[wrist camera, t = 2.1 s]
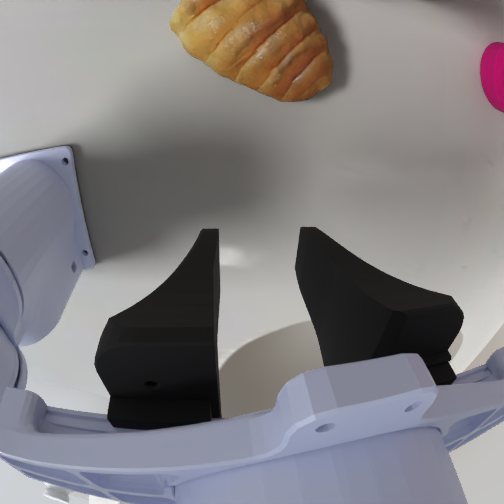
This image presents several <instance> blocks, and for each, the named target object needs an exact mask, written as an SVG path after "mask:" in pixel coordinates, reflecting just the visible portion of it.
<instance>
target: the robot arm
mask: <svg viewBox="0 0 504 504" xmlns="http://www.w3.org/2000/svg"><path fill="white" fill-rule="evenodd" d="M64 158H67V159H68V161H69V162H68V163H65V161H64ZM84 250H86V251H87V252H88V253H86V252H84ZM94 266H95V259H94V255H93V251H92V247H91V243H90V239H89V235H88V231H87V227H86V222H85V218H84V213H83V209H82V204H81V199H80V194H79V188H78V183H77V177H76V171H75V165H74V158H73V152H72V149H71V148H70V147H69V146H59V147H54V148H48V149H42V150H37V151H32V152H27V153H22V154H18V155H13V156H9V157H4V158H0V458H1V459H2V460H4V461H5V462H6V463H8V464H9V465H11V466H12V467H14V468H15V469H17V470H18V471H20V472H21V473H23V474H24V475H26V476H28V477H30V478H33V479H36V480H39V481H42V482H45V483H49V484H52V485H55V486H59V487H62V488H66V489H69V490H73V491H77V492H80V493H84V494H88V495H92V496H96V497H101V498H105V499H110V500H114V501H119V502H125V503H130V504H468V503H467V500H466V498H465V495H464V492H463V489H462V486H461V484H460V481H459V478H458V476H457V473H456V470H455V468H454V465H453V463H452V460H451V458H450V455H449V452H451V451H453V450H455V449H457V448H459V447H460V446H462V445H464V444H466V443H467V442H469V441H471V440H473V439H474V438H476V437H478V436H479V435H481V434H483V433H485V432H486V431H488V430H489V429H491V428H493V427H495V426H496V425H498V424H499V423H501V422H503V421H504V347H502V348H500V349H498V350H496V351H495V352H494V353H493V354H492V355H491V356H490V358H489V359H488V360H487V362H486V364H484V365H481V366H479V367H476V368H474V369H471V370H468V371H465V372H463V373H460V374H457V375H455V373H454V371H453V369H452V368H451V366H450V364H449V362H448V361H450V360H451V355H450V353H449V352H448V349H449V347H450V346H451V344H452V342H453V341H454V339H455V338H456V336H457V334H458V333H459V331H460V329H461V327H462V323H463V319H464V315H463V311H462V310H461V309H460V307H459V306H458V305H457V303H456V302H455V300H454V299H453V298H452V296H449V295H445V294H441V293H437V292H433V291H429V290H426V289H423V288H420V287H417V286H414V285H412V284H409V283H407V282H404V281H402V280H399V279H397V278H395V277H393V276H390V275H388V274H386V273H384V272H382V271H381V270H379V269H377V268H375V267H373V266H371V265H370V264H368V263H366V262H365V261H363V260H362V259H360V258H358V257H357V256H355V255H354V254H352V253H351V252H350V251H348V250H347V249H345V248H344V247H342V246H341V245H340V244H338V243H337V242H336V241H334V240H333V239H332V238H330V237H329V236H328V235H326V234H325V233H323V232H322V231H321V230H319V229H317V228H316V227H301V228H300V235H299V243H298V250H297V257H296V264H295V271H296V276H297V280H298V284H299V288H300V291H301V294H302V296H303V299H304V302H305V304H306V307H307V310H308V312H309V315H310V317H311V320H312V323H313V325H314V328H315V331H316V334H317V337H318V341H319V345H320V350H321V354H322V358H323V363H324V367H320V368H317V369H313V370H309V371H305V372H303V373H301V374H299V375H298V376H296V377H294V378H293V379H291V380H289V381H288V382H287V383H286V384H285V385H284V387H283V388H282V389H281V391H280V392H279V394H278V396H277V400H276V405H275V407H274V408H271V409H267V410H262V411H259V412H254V413H250V414H245V415H241V416H236V417H231V418H222V416H221V402H220V387H219V369H218V349H217V333H218V318H219V303H220V264H219V229H203V230H201V231H200V234H199V236H198V238H197V240H196V242H195V243H194V245H193V247H192V248H191V250H190V251H189V253H188V254H187V256H186V257H185V259H184V260H183V261H182V262H181V264H180V265H179V266H178V268H177V269H176V270H175V271H174V272H173V273H172V274H171V276H170V277H169V278H168V279H167V280H166V281H165V282H164V283H163V284H161V285H160V286H159V287H158V288H157V289H156V290H154V291H153V292H152V293H151V294H149V295H148V296H147V297H145V298H144V299H142V300H141V301H139V302H138V303H136V304H135V305H133V306H131V307H130V308H128V309H126V310H124V311H122V312H120V313H118V314H117V315H115V316H113V317H111V318H109V319H108V322H107V324H106V326H105V328H104V330H103V333H102V335H101V338H100V341H99V345H98V348H97V352H96V356H95V363H94V365H95V368H96V371H97V373H98V375H99V377H100V378H101V380H102V382H103V384H104V385H105V387H106V389H107V391H108V392H109V394H110V402H109V408H108V414H107V415H106V414H97V413H88V412H81V411H74V410H67V409H62V408H55V407H50V406H47V405H46V404H45V402H44V400H43V399H42V398H41V397H40V396H39V395H37V394H36V393H34V392H31V391H28V390H25V388H26V383H27V373H28V371H27V364H26V361H25V358H24V356H23V354H22V352H21V350H20V349H19V348H18V347H23V346H28V345H31V344H34V343H36V342H38V341H40V340H41V339H43V338H44V337H45V336H46V335H48V334H49V333H50V332H51V331H52V330H53V329H54V327H55V326H56V325H57V323H58V322H59V320H60V318H61V316H62V313H63V311H64V309H65V306H66V304H67V302H68V300H69V298H70V295H71V293H72V291H73V289H74V287H75V285H76V283H77V281H78V278H79V276H80V274H81V272H82V270H83V269H92V268H94Z"/></svg>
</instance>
